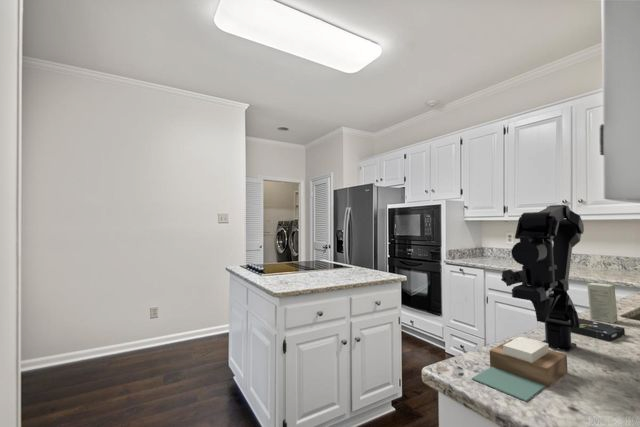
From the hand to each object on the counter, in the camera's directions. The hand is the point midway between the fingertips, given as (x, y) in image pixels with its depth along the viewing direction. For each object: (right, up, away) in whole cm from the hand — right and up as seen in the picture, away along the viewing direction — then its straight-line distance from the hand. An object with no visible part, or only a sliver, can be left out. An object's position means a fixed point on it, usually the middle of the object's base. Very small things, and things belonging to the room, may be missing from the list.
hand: (542, 322), depth 79 cm
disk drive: (+26, -10, +17) cm, 33 cm away
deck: (-8, -9, -6) cm, 13 cm away
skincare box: (+40, -9, +27) cm, 49 cm away
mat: (-16, -9, -11) cm, 22 cm away
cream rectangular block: (-8, -5, -6) cm, 11 cm away
